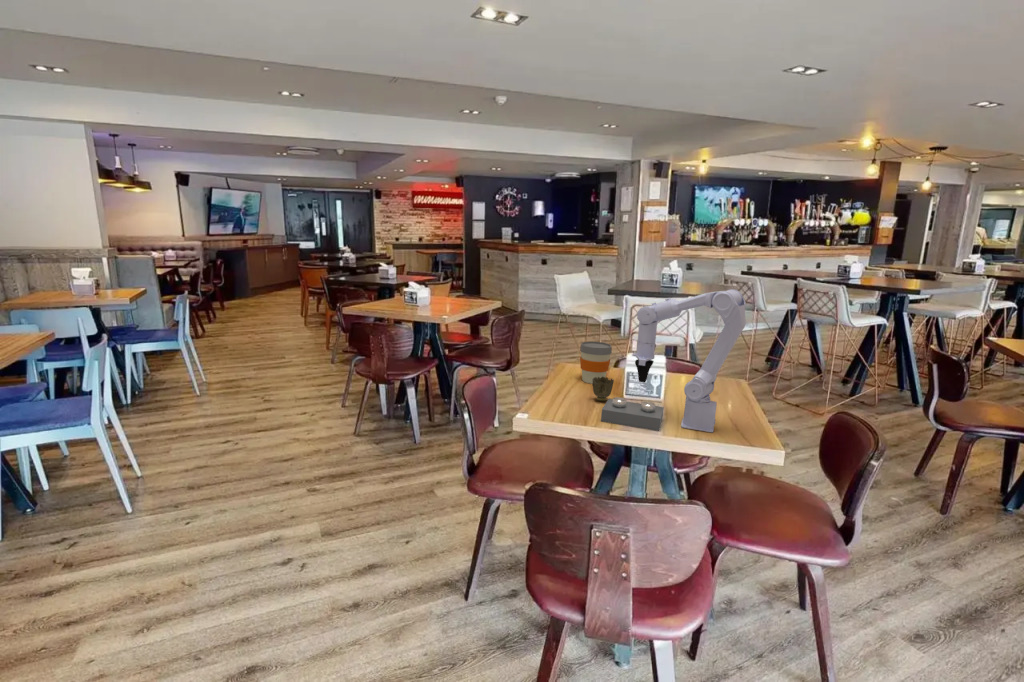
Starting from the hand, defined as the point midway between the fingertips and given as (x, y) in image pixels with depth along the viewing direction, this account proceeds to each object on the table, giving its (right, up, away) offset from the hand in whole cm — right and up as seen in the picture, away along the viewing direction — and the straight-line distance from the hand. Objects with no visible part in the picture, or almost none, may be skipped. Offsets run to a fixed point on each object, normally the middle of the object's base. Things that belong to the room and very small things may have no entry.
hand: (642, 381), depth 174 cm
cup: (-12, -8, +12) cm, 18 cm away
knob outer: (-9, -10, -5) cm, 15 cm away
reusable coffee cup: (-11, -3, +36) cm, 38 cm away
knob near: (-1, -11, -9) cm, 14 cm away
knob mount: (-5, -12, -7) cm, 14 cm away
